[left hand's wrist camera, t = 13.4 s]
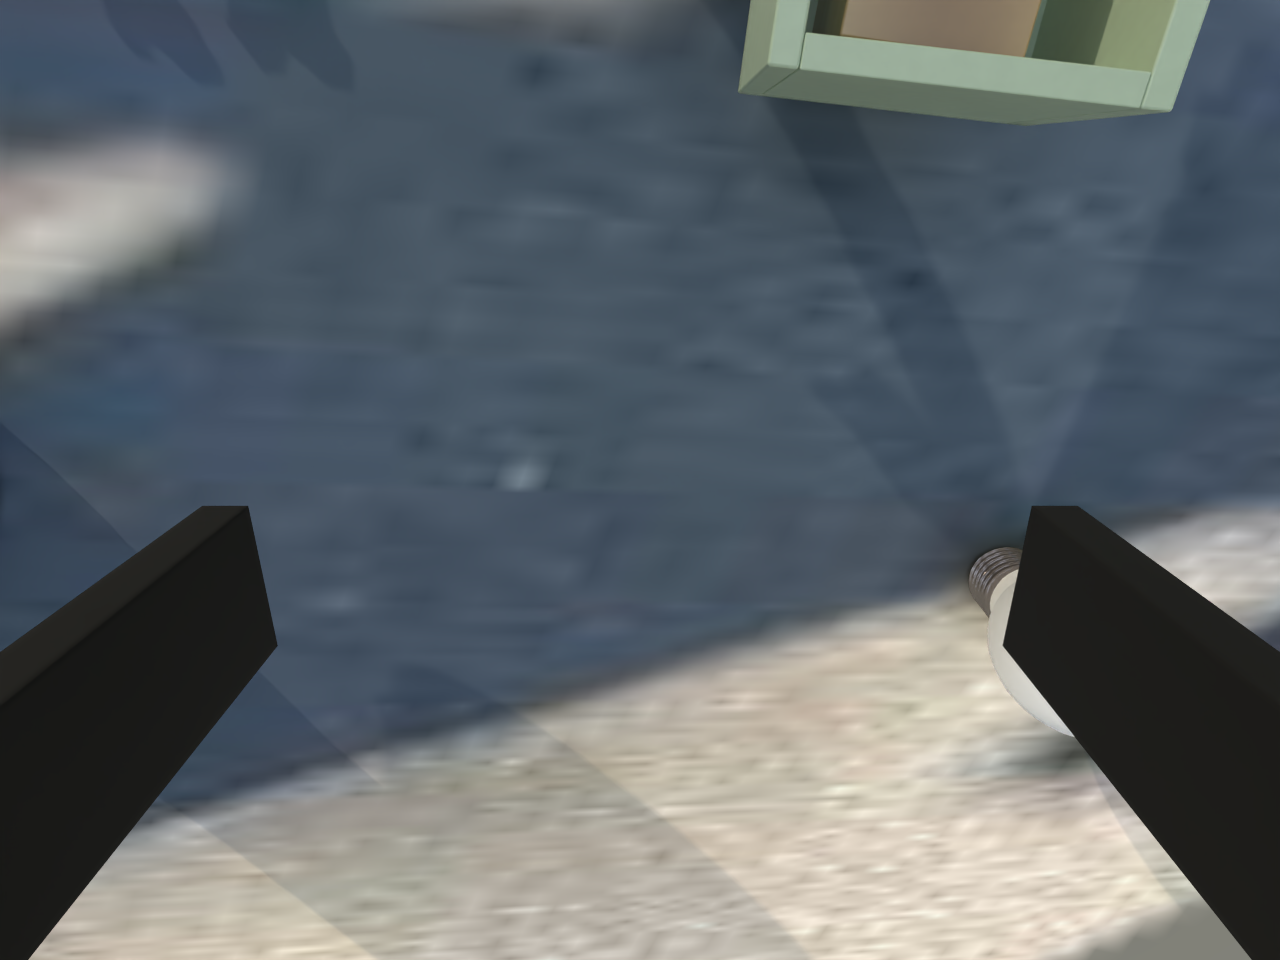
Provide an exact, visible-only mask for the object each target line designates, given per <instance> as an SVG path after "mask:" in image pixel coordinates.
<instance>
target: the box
mask: <svg viewBox="0 0 1280 960" xmlns="http://www.w3.org/2000/svg"><path fill="white" fill-rule="evenodd" d="M1209 2H1210V0H1042V1H1041V4H1040V8H1039V11H1038V14H1037V18H1036V21H1035V24H1034V28H1033V31H1032V34H1031V38H1030V41H1029V45H1028V48H1027V51H1026V55H1025V57H1018V56H1009V55H1000V54H992V53H983V52H974V51H965V50H957V49H948V48H939V47H931V46H922V45H913V44H904V43H896V42H887V41H878V40H869V39H861V38H852V37H843V36H835V35H826V34H817V33H812V30H813V25H814V20H815V15H816V10H817V5H818V0H751V3H750V10H749V17H748V24H747V31H746V39H745V46H744V53H743V60H742V68H741V75H740V82H739V89H738V93H741V94H749V95H758V96H767V97H776V98H785V99H793V100H802V101H811V102H820V103H829V104H837V105H846V106H855V107H864V108H873V109H881V110H890V111H899V112H908V113H917V114H925V115H934V116H943V117H952V118H961V119H969V120H978V121H987V122H996V123H1005V124H1013V125H1022V126H1030V125H1039V124H1049V123H1059V122H1070V121H1080V120H1091V119H1101V118H1111V117H1122V116H1132V115H1143V114H1153V113H1163V112H1169V111H1171V110H1172V108H1173V105H1174V102H1175V100H1176V97H1177V94H1178V91H1179V88H1180V85H1181V82H1182V80H1183V77H1184V74H1185V71H1186V68H1187V65H1188V62H1189V60H1190V57H1191V54H1192V51H1193V48H1194V45H1195V42H1196V40H1197V37H1198V34H1199V31H1200V28H1201V25H1202V22H1203V20H1204V17H1205V14H1206V11H1207V8H1208V5H1209Z"/></svg>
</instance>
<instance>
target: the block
mask: <svg viewBox="0 0 1280 960" xmlns="http://www.w3.org/2000/svg"><path fill="white" fill-rule="evenodd" d="M1041 1H1042V0H818V5H817V10H816V15H815V20H814V25H813V30H812V33H817V34H826V35H835V36H843V37H852V38H861V39H869V40H878V41H887V42H896V43H904V44H913V45H922V46H931V47H939V48H948V49H957V50H965V51H974V52H983V53H992V54H1000V55H1009V56H1018V57H1025V55H1026V51H1027V48H1028V45H1029V41H1030V38H1031V34H1032V31H1033V28H1034V24H1035V21H1036V18H1037V14H1038V11H1039V8H1040V4H1041Z"/></svg>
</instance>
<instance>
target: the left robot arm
mask: <svg viewBox="0 0 1280 960" xmlns="http://www.w3.org/2000/svg"><path fill="white" fill-rule="evenodd" d="M277 646H278V645H277V641H276V636H275V631H274V626H273V622H272V617H271V612H270V607H269V603H268V598H267V593H266V588H265V584H264V579H263V574H262V570H261V565H260V560H259V555H258V551H257V546H256V541H255V536H254V532H253V527H252V522H251V517H250V513H249V508H248V506H202V507H200V508H199V509H197V510H196V511H195V512H193V513H192V514H191V515H189V516H188V517H186V518H185V519H184V520H182V521H181V522H180V523H178V524H177V525H175V526H174V527H173V528H171V529H170V530H168V531H167V532H166V533H164V534H163V535H162V536H160V537H159V538H157V539H156V540H155V541H153V542H152V543H150V544H149V545H148V546H146V547H145V548H144V549H142V550H141V551H139V552H138V553H137V554H135V555H134V556H132V557H131V558H130V559H128V560H127V561H126V562H124V563H123V564H121V565H120V566H119V567H117V568H116V569H114V570H113V571H112V572H110V573H109V574H108V575H106V576H105V577H103V578H102V579H101V580H99V581H98V582H97V583H95V584H94V585H92V586H91V587H90V588H88V589H87V590H85V591H84V592H83V593H81V594H80V595H79V596H77V597H76V598H74V599H73V600H72V601H70V602H69V603H67V604H66V605H65V606H63V607H62V608H61V609H59V610H58V611H56V612H55V613H54V614H52V615H51V616H49V617H48V618H47V619H45V620H44V621H43V622H41V623H40V624H38V625H37V626H36V627H34V628H33V629H32V630H30V631H29V632H27V633H26V634H25V635H23V636H22V637H20V638H19V639H18V640H16V641H15V642H14V643H12V644H11V645H9V646H8V647H7V648H5V649H4V650H2V651H1V652H0V960H28V959H29V958H30V957H31V955H32V954H33V953H34V952H35V950H36V949H37V948H38V947H39V945H40V944H41V943H42V942H43V940H44V939H45V938H46V937H47V935H48V934H49V933H50V932H51V930H52V929H53V928H54V927H55V925H56V924H57V923H58V922H59V920H60V919H61V918H62V916H63V915H64V914H65V913H66V911H67V910H68V909H69V908H70V906H71V905H72V904H73V903H74V901H75V900H76V899H77V898H78V896H79V895H80V894H81V893H82V891H83V890H84V889H85V888H86V886H87V885H88V884H89V882H90V881H91V880H92V879H93V877H94V876H95V875H96V874H97V872H98V871H99V870H100V869H101V867H102V866H103V865H104V864H105V862H106V861H107V860H108V859H109V857H110V856H111V855H112V854H113V852H114V851H115V850H116V848H117V847H118V846H119V845H120V843H121V842H122V841H123V840H124V838H125V837H126V836H127V835H128V833H129V832H130V831H131V830H132V828H133V827H134V826H135V825H136V823H137V822H138V821H139V820H140V818H141V817H142V816H143V815H144V813H145V812H146V811H147V809H148V808H149V807H150V806H151V804H152V803H153V802H154V801H155V799H156V798H157V797H158V796H159V794H160V793H161V792H162V791H163V789H164V788H165V787H166V786H167V784H168V783H169V782H170V781H171V779H172V778H173V777H174V775H175V774H176V773H177V772H178V770H179V769H180V768H181V767H182V765H183V764H184V763H185V762H186V760H187V759H188V758H189V757H190V755H191V754H192V753H193V752H194V750H195V749H196V748H197V747H198V745H199V744H200V743H201V742H202V740H203V739H204V738H205V736H206V735H207V734H208V733H209V731H210V730H211V729H212V728H213V726H214V725H215V724H216V723H217V721H218V720H219V719H220V718H221V716H222V715H223V714H224V713H225V711H226V710H227V709H228V708H229V706H230V705H231V704H232V702H233V701H234V700H235V699H236V697H237V696H238V695H239V694H240V692H241V691H242V690H243V689H244V687H245V686H246V685H247V684H248V682H249V681H250V680H251V679H252V677H253V676H254V675H255V674H256V672H257V671H258V670H259V668H260V667H261V666H262V665H263V663H264V662H265V661H266V660H267V658H268V657H269V656H270V655H271V653H272V652H273V651H274V650H275V648H276V647H277ZM1002 646H1003V647H1004V648H1005V650H1006V651H1007V652H1008V653H1009V655H1010V656H1011V657H1012V658H1013V660H1014V661H1015V662H1016V663H1017V665H1018V666H1019V667H1020V669H1021V670H1022V671H1023V672H1024V674H1025V675H1026V676H1027V677H1028V679H1029V680H1030V681H1031V682H1032V684H1033V685H1034V686H1035V687H1036V689H1037V690H1038V691H1039V692H1040V694H1041V695H1042V696H1043V697H1044V699H1045V700H1046V701H1047V702H1048V704H1049V705H1050V706H1051V708H1052V709H1053V710H1054V711H1055V713H1056V714H1057V715H1058V716H1059V718H1060V719H1061V720H1062V721H1063V723H1064V724H1065V725H1066V726H1067V728H1068V729H1069V730H1070V731H1071V733H1072V734H1073V735H1074V736H1075V738H1076V739H1077V740H1078V742H1079V743H1080V744H1081V745H1082V747H1083V748H1084V749H1085V750H1086V752H1087V753H1088V754H1089V755H1090V757H1091V758H1092V759H1093V760H1094V762H1095V763H1096V764H1097V765H1098V767H1099V768H1100V769H1101V770H1102V772H1103V773H1104V774H1105V775H1106V777H1107V778H1108V779H1109V781H1110V782H1111V783H1112V784H1113V786H1114V787H1115V788H1116V789H1117V791H1118V792H1119V793H1120V794H1121V796H1122V797H1123V798H1124V799H1125V801H1126V802H1127V803H1128V804H1129V806H1130V807H1131V808H1132V809H1133V811H1134V812H1135V813H1136V815H1137V816H1138V817H1139V818H1140V820H1141V821H1142V822H1143V823H1144V825H1145V826H1146V827H1147V828H1148V830H1149V831H1150V832H1151V833H1152V835H1153V836H1154V837H1155V838H1156V840H1157V841H1158V842H1159V843H1160V845H1161V846H1162V847H1163V849H1164V850H1165V851H1166V852H1167V854H1168V855H1169V856H1170V857H1171V859H1172V860H1173V861H1174V862H1175V864H1176V865H1177V866H1178V867H1179V869H1180V870H1181V871H1182V872H1183V874H1184V875H1185V876H1186V877H1187V879H1188V880H1189V881H1190V882H1191V884H1192V885H1193V886H1194V888H1195V889H1196V890H1197V891H1198V893H1199V894H1200V895H1201V896H1202V898H1203V899H1204V900H1205V901H1206V903H1207V904H1208V905H1209V906H1210V908H1211V909H1212V910H1213V911H1214V913H1215V914H1216V915H1217V916H1218V918H1219V919H1220V920H1221V922H1222V923H1223V924H1224V925H1225V927H1226V928H1227V929H1228V930H1229V932H1230V933H1231V934H1232V935H1233V937H1234V938H1235V939H1236V940H1237V942H1238V943H1239V944H1240V945H1241V947H1242V948H1243V949H1244V950H1245V952H1246V953H1247V954H1248V955H1249V957H1250V958H1251V959H1252V960H1280V652H1279V651H1278V650H1276V649H1275V648H1273V647H1272V646H1271V645H1269V644H1268V643H1266V642H1265V641H1264V640H1262V639H1261V638H1260V637H1258V636H1257V635H1255V634H1254V633H1253V632H1251V631H1250V630H1248V629H1247V628H1246V627H1244V626H1243V625H1242V624H1240V623H1239V622H1237V621H1236V620H1235V619H1233V618H1232V617H1231V616H1229V615H1228V614H1226V613H1225V612H1224V611H1222V610H1221V609H1219V608H1218V607H1217V606H1215V605H1214V604H1213V603H1211V602H1210V601H1208V600H1207V599H1206V598H1204V597H1203V596H1201V595H1200V594H1199V593H1197V592H1196V591H1195V590H1193V589H1192V588H1190V587H1189V586H1188V585H1186V584H1185V583H1183V582H1182V581H1181V580H1179V579H1178V578H1177V577H1175V576H1174V575H1172V574H1171V573H1170V572H1168V571H1167V570H1165V569H1164V568H1163V567H1161V566H1160V565H1159V564H1157V563H1156V562H1154V561H1153V560H1152V559H1150V558H1149V557H1148V556H1146V555H1145V554H1143V553H1142V552H1141V551H1139V550H1138V549H1136V548H1135V547H1134V546H1132V545H1131V544H1130V543H1128V542H1127V541H1125V540H1124V539H1123V538H1121V537H1120V536H1118V535H1117V534H1116V533H1114V532H1113V531H1112V530H1110V529H1109V528H1107V527H1106V526H1105V525H1103V524H1102V523H1100V522H1099V521H1098V520H1096V519H1095V518H1094V517H1092V516H1091V515H1089V514H1088V513H1087V512H1085V511H1084V510H1083V509H1081V508H1080V507H1078V506H1032V508H1031V513H1030V517H1029V522H1028V527H1027V532H1026V536H1025V541H1024V546H1023V551H1022V555H1021V560H1020V565H1019V570H1018V574H1017V579H1016V584H1015V588H1014V593H1013V598H1012V603H1011V607H1010V612H1009V617H1008V622H1007V626H1006V631H1005V636H1004V641H1003V645H1002Z"/></svg>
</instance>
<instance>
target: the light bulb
mask: <svg viewBox="0 0 1280 960" xmlns="http://www.w3.org/2000/svg"><path fill="white" fill-rule="evenodd" d="M1022 551H1023V550H1021V549H1017V548H1010V547H1006V548H998V549H995V550H992V551H990V552H988V553H986V554H984V555H983V556H982V557H980V558H979V559H978V560H977V561H976V563H975V564H974V566H973V567H972V569H971V572H970V575H969V588H970V592H971V594H972V596H973V598H974V599H975V600H976V602H977V603H978V604H979V606H980V607H981V608H982V609H983V611H984V612H985V613H986V615H987V616H988V617H989V622H988V629H987V639H988V649H989V653H990V656H991V660H992V663H993V666H994V669H995V671H996V673H997V675H998V676H999V678H1000V680H1001V682H1002V683H1003V685H1004V687H1005V688H1006V690H1007V691H1008V692H1009V694H1010V695H1011V696H1012V697H1013V698H1014V699H1015V701H1016V702H1017V703H1018V704H1019V705H1020V706H1021V707H1022V708H1023V709H1024V710H1026V711H1027V712H1028V713H1029V714H1031V715H1032V716H1033V717H1035V718H1036V719H1037V720H1039V721H1040V722H1042V723H1044V724H1045V725H1047V726H1049V727H1051V728H1053V729H1055V730H1057V731H1059V732H1061V733H1064V734H1067V735H1069V736H1073V737H1075V736H1074V735H1073V734H1072V733H1071V731H1070V730H1069V729H1068V728H1067V726H1066V725H1065V724H1064V723H1063V721H1062V720H1061V719H1060V718H1059V716H1058V715H1057V714H1056V713H1055V711H1054V710H1053V709H1052V708H1051V706H1050V705H1049V704H1048V702H1047V701H1046V700H1045V699H1044V697H1043V696H1042V695H1041V694H1040V692H1039V691H1038V690H1037V689H1036V687H1035V686H1034V685H1033V684H1032V682H1031V681H1030V680H1029V679H1028V677H1027V676H1026V675H1025V674H1024V672H1023V671H1022V670H1021V669H1020V667H1019V666H1018V665H1017V663H1016V662H1015V661H1014V660H1013V658H1012V657H1011V656H1010V655H1009V653H1008V652H1007V651H1006V650H1005V648H1004V647H1003V646H1002V645H1003V641H1004V636H1005V631H1006V626H1007V622H1008V617H1009V612H1010V607H1011V603H1012V598H1013V593H1014V588H1015V584H1016V579H1017V574H1018V570H1019V565H1020V560H1021V555H1022Z"/></svg>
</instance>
